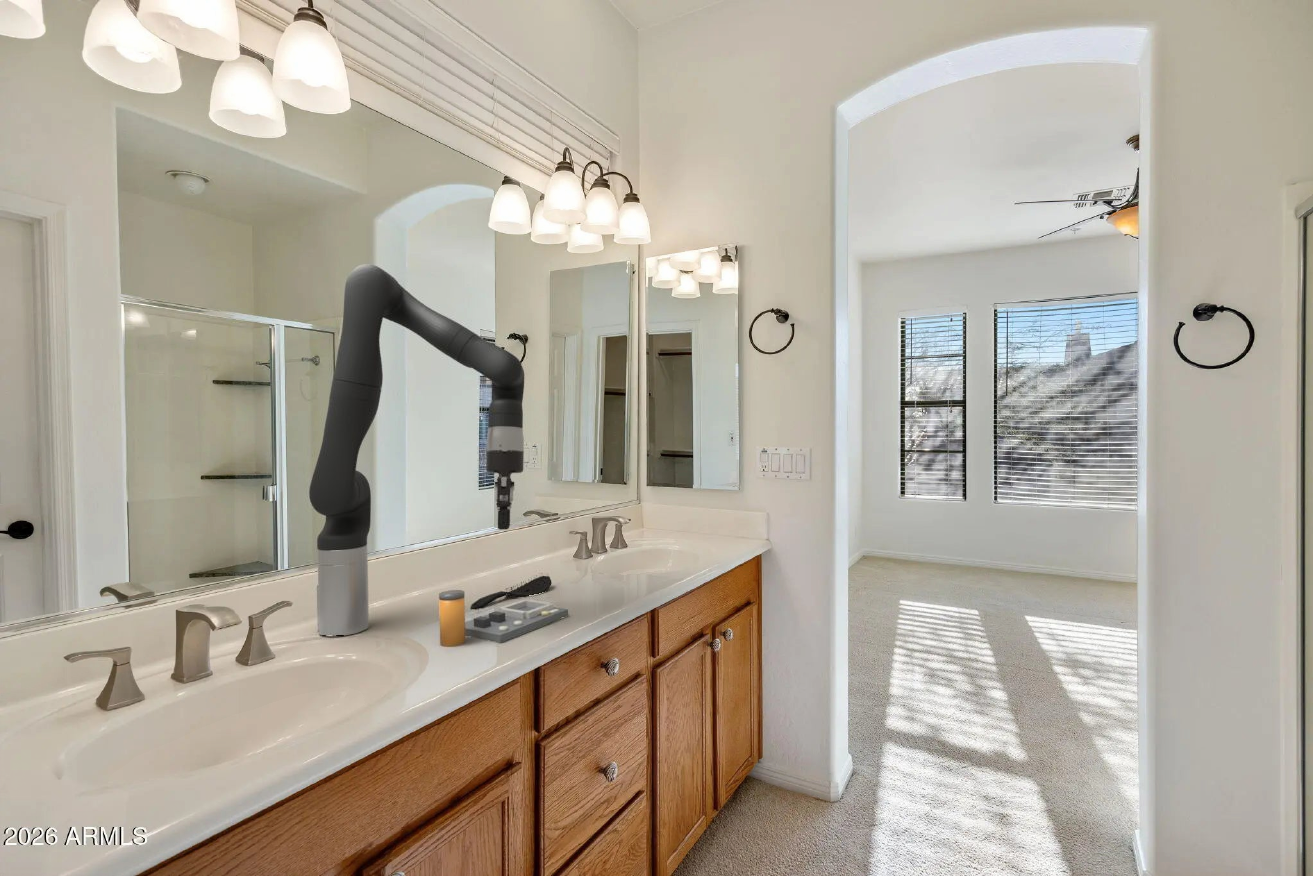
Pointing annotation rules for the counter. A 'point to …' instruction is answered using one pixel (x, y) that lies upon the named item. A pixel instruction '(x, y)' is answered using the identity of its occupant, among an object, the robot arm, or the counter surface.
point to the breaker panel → (513, 620)
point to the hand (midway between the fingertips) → (503, 528)
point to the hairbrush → (517, 591)
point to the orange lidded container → (452, 618)
